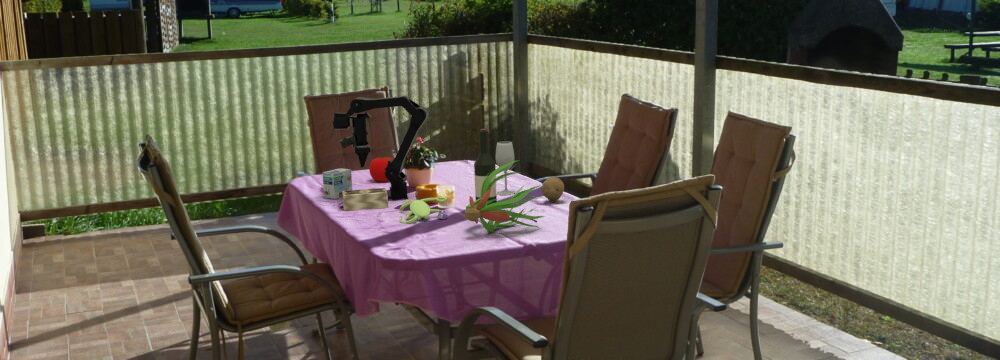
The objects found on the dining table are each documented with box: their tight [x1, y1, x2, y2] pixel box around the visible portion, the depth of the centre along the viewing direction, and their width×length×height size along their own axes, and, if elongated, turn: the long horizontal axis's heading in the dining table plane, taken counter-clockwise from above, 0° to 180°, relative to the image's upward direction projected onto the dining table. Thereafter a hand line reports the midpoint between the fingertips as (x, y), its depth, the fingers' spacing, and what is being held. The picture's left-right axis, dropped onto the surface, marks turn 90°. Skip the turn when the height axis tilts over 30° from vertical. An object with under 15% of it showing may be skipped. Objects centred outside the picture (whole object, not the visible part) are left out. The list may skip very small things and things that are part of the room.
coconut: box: [540, 176, 565, 203], centre depth 414 cm, size 9×9×10 cm
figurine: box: [398, 196, 449, 225], centre depth 400 cm, size 18×27×6 cm
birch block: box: [342, 187, 389, 212], centre depth 418 cm, size 17×10×6 cm, turn 101°
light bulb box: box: [322, 167, 353, 200], centre depth 440 cm, size 11×7×11 cm, turn 143°
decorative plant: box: [463, 158, 545, 234], centre depth 371 cm, size 26×25×30 cm
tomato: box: [369, 155, 394, 183], centre depth 470 cm, size 12×13×11 cm
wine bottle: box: [473, 128, 498, 208], centre depth 409 cm, size 8×8×30 cm
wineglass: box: [495, 141, 516, 196], centre depth 433 cm, size 8×8×21 cm
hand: (362, 167), depth 432 cm, fingers closed
